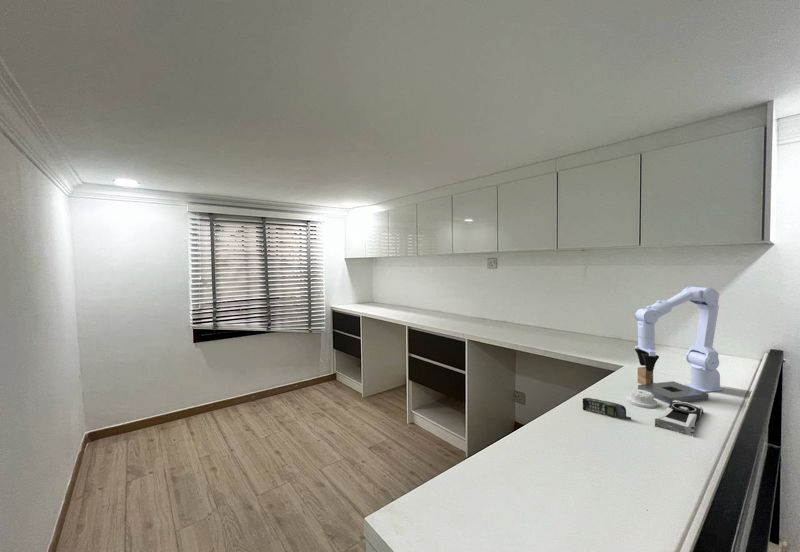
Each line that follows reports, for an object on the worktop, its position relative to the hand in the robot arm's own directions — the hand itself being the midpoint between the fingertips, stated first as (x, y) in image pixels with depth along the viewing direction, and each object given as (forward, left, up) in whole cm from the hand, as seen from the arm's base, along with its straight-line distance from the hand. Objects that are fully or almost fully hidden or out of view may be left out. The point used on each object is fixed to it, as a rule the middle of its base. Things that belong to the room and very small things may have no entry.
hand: (646, 368), depth 140 cm
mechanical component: (+13, +10, -10) cm, 19 cm away
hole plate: (-5, +6, -10) cm, 13 cm away
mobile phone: (+34, +15, -10) cm, 38 cm away
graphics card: (+12, +24, -11) cm, 29 cm away
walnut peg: (-6, -7, -10) cm, 13 cm away
